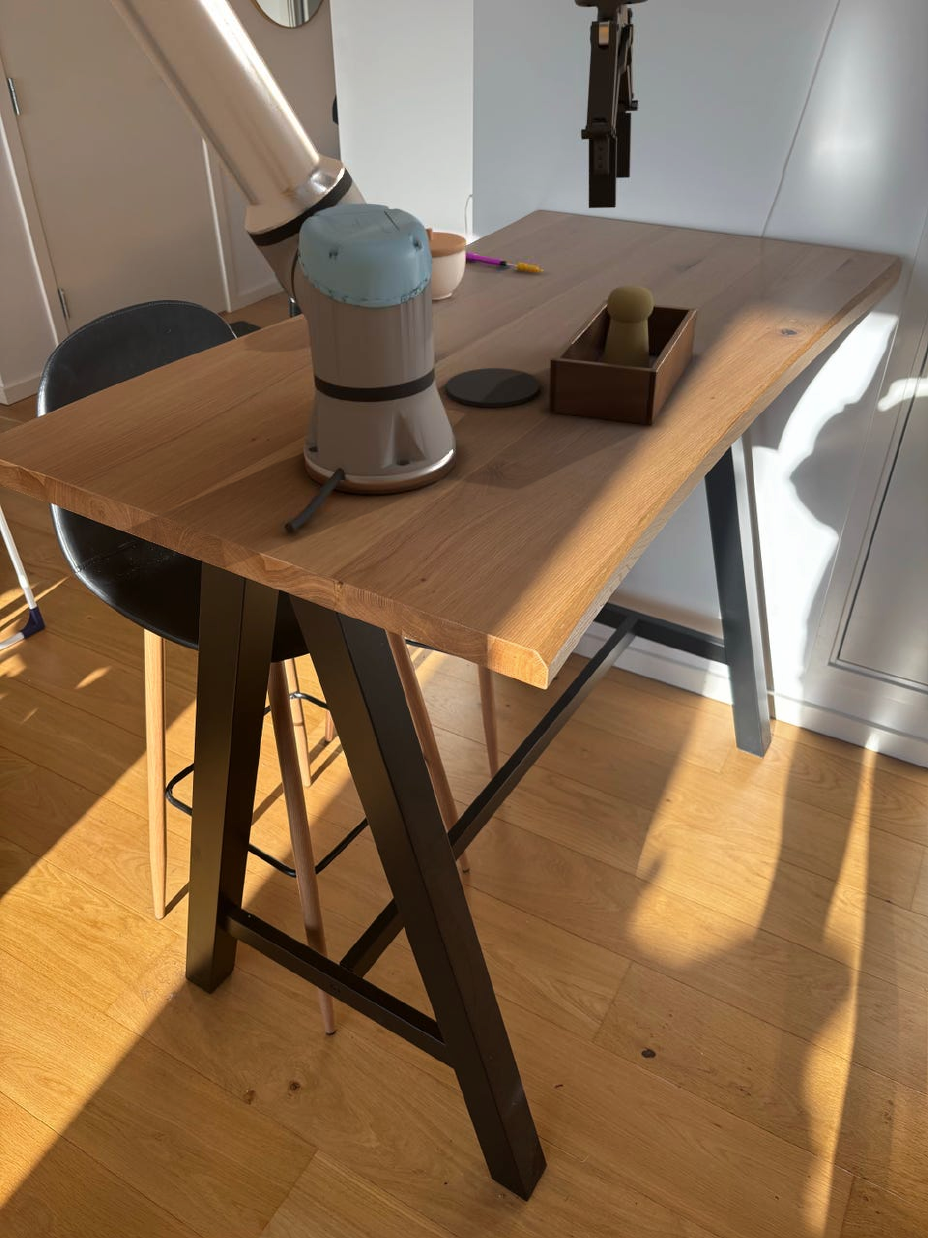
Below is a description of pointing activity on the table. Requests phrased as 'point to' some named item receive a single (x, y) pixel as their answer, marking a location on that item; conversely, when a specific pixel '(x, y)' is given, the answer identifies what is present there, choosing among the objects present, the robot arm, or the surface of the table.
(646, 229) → the table surface
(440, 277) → the trinket box
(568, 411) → the box
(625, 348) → the cork
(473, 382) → the coaster
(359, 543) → the table surface
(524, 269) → the multicoloured piece
